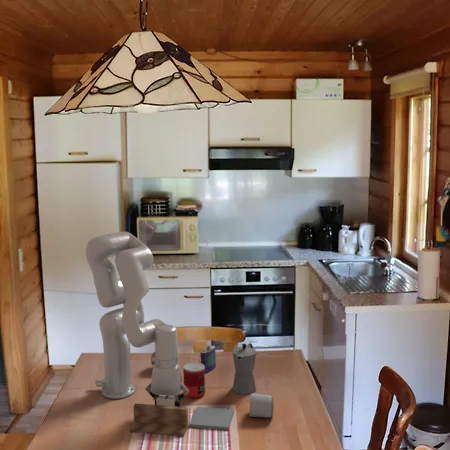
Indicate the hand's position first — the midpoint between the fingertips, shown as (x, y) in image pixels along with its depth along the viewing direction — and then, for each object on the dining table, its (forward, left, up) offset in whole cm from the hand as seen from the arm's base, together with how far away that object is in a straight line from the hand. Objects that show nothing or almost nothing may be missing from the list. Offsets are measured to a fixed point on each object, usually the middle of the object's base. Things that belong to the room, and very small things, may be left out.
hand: (167, 409), depth 190 cm
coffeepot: (+24, +23, -1) cm, 33 cm away
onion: (-12, +35, -1) cm, 37 cm away
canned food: (+6, +15, -1) cm, 16 cm away
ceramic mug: (+32, +4, -1) cm, 32 cm away
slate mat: (+16, -2, -1) cm, 16 cm away
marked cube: (0, 0, -1) cm, 1 cm away
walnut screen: (0, -11, -1) cm, 11 cm away
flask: (+7, +37, -1) cm, 38 cm away
